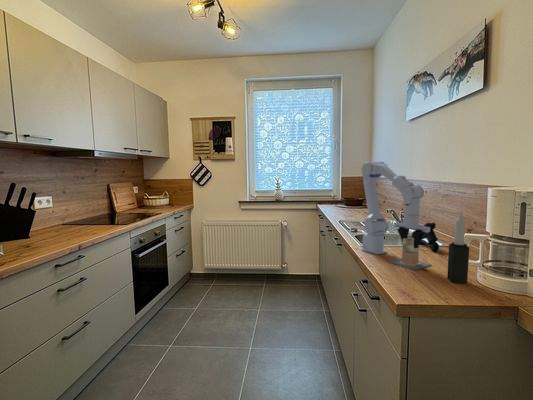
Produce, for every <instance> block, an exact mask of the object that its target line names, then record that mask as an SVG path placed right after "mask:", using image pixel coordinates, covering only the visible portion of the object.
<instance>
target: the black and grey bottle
mask: <svg viewBox="0 0 533 400" xmlns="http://www.w3.org/2000/svg"><path fill="white" fill-rule="evenodd" d="M465 232H466V220H465V219H464V217H463V211H459V213H458V216H457V218H456V219H455V221H454V239H453V240H454V241H453V242H451V243H449V244H448V259H447V278H446V279H447V280H449V281H450V283H453V284H462V285H465V284H466V285H467V284H468V276H469V261H470V247H469V246H468V244H466V243H465V235H466V233H465Z"/></svg>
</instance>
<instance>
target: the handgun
mask: <svg viewBox="0 0 533 400" xmlns="http://www.w3.org/2000/svg"><path fill="white" fill-rule="evenodd" d="M423 226H426V227H430V232H428V233H427V232H425V234H424V236H423V237H422V239H421V241H422V240H425V239H426V240H427V242H428V243H427V244H428V245H429V246H430V247H429V248H430V250H431V252H432V251H433V253H437V252H439V250H440V245H439V243H438V242H437V241H439V239H438V237H437V236H436V235H437V234H436V233H435V232H434V229H435V228H436V227H437V226H436V223H435V222H426V223H425V224H424V225H423ZM410 236H411V238H414V235H413V232H412V233H411V235H410Z"/></svg>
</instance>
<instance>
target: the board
mask: <svg viewBox="0 0 533 400" xmlns="http://www.w3.org/2000/svg"><path fill="white" fill-rule="evenodd" d="M388 263H389V264H392V265H395V266H396V265H397V266H399V267H403V268H406V269H411V270H413V271H418V270H422V269H425V268H429V267H431V266H432V264H431V263H426V262H422V261H419V260H418V264H414V265H409V264H406V263H402V257H401V258H398V259H394V260H391V261H388Z"/></svg>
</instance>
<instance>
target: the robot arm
mask: <svg viewBox="0 0 533 400" xmlns="http://www.w3.org/2000/svg"><path fill="white" fill-rule="evenodd" d="M361 174H362V180H363V182H362V183H363V188H364V194H365V200H366V207H367V213H368V215H367V216H366V217H365V218H364V230H365V232H364V234H363V235H362V248H361V251H364V252H367V253H370V254H374V255H380V254H381V255H383V254H384V253H385V254H386V253H388V250H384V246H385V234H386V232H387V231H388V230H389V224H388V222H387V220H386V217H385V216H384V215H383V214H382V213H381V209H380V204H379V195H378V191H377V185H376V181H377V180H379V179H380V178H381V177H382V176H383V177H385V179H387V180H389V181H390V182H391V186H392V187H394V188H395V189H396V190H397V191H399V192H400V194H401V197H402V198H403V205H404V207H403V208H404V210H403V222H398V221H396V222H394V223H393V227H394V228H397V232H398V234H399V237H400V239H401V244H402V245H403V239H404V238H409V232H410V230H411V231H412V233H413V235H414V248H418V247H419V248H420V243H421V241H422V240H423V239H422V237H423V236H424V234H425V232H427V233H428V232H430V227H426V226H424V225H421V224H420V214H421V213H420V212H421V210H420V209H421V199H422V198H423V197H424V195H425V191H424V188H423V187H422V186H421V185H419V184H417V185H415V184H414V182H413V181H410V180H408V179H407V178H406V177H407V176H405V175H397V173H395V172H394V171H393V170H392V169H390V168H389V166H388V164H387V163H385V161H365V162H364V163H363V165H362V167H361ZM421 239H422V240H421Z"/></svg>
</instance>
